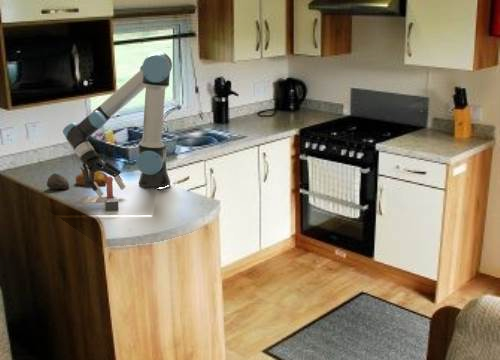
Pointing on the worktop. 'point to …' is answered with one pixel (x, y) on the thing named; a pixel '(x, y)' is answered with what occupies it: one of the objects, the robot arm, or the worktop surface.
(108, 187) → the pawn
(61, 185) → the stone
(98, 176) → the croissant
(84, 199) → the track
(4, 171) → the worktop surface
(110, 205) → the die
